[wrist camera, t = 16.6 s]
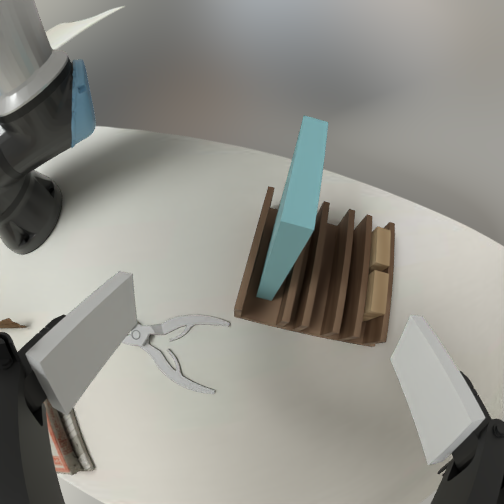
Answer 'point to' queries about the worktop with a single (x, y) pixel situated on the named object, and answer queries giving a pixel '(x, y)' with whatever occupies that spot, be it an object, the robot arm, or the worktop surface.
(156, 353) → the pliers
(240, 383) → the worktop surface
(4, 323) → the wood plank
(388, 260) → the offcut
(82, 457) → the packaged product
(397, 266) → the worktop surface
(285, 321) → the rack
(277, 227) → the tall board
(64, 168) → the worktop surface
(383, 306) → the offcut
